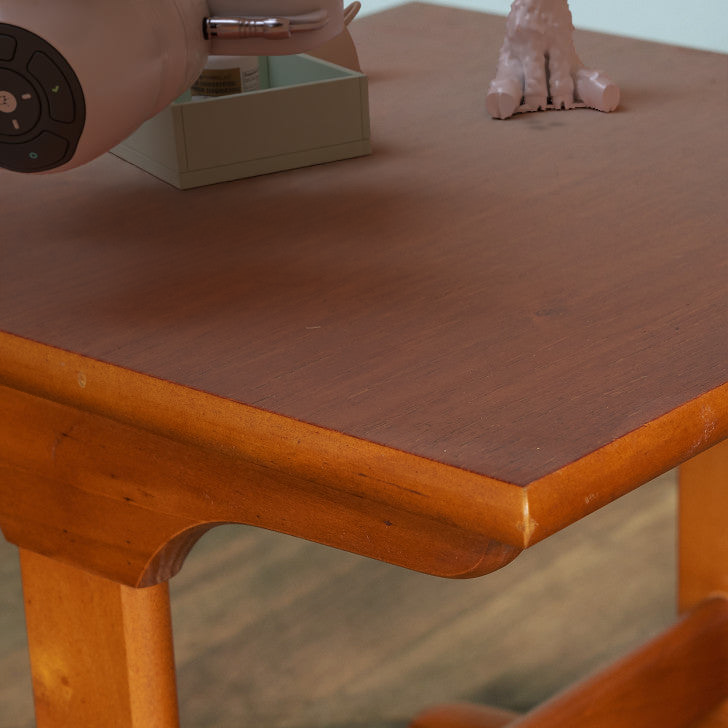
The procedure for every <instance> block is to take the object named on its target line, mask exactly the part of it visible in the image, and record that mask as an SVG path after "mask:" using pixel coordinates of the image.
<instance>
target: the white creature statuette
mask: <svg viewBox="0 0 728 728" xmlns="http://www.w3.org/2000/svg"><path fill="white" fill-rule="evenodd" d="M509 6H510V11H509V12H508V13H507V20H506V21H505V25H504V27H505V36H504V37H503V44H502V47H500V49H499V51H498V55H499V56H498V57H497V65H496V66H495V70H496V74H495V77H494V78H492V79H490V82H489V83H488V91H487V93H486V97H485V106H486V109H487V112H488V113H489V115H491V117H492V118H495V119H501V118H502V119H501V120H506V119H508V118H507V117H510V118H511V117H512V116H513V114H517V113H516V112H522V113H524V112H523V111H531V112H533V111H536V112H537V111H538V110H540V111H542V110H544V111H547V109H546V108H551V109H554V108H555V110H557V109H560V110H561V109H562V107H563V106H564V109H565V110H570V109H569V108H572V109H576V108H575V107H585V106H589V107H591V108H590V109H593V108H595V109H594V110H596V109H598V110H597V111H599V110H600V112H604V113H610V112H614V111H615V110H616V108H617V107H618V105H619V103H620V98H621V90H620V88H619V86H618V84H616V83H615V82H614V81H612V80H611V78H610V77H609V75H608V73H607V72H606V71H605V70H604V69H597V68H596V67H589V66H585V64H584V63H583V62H582V60H581V59H580V57H579V54H577V52H576V46H575V45H574V39H573V34H574V32H575V30H576V27H575V26H574V24H573V14H572V11H571V9H570V4H569V3H568V0H514V1H512V2H511V3H510V5H509ZM547 100H552V102H551V104H548V101H547ZM523 102H524V103H523ZM520 104H521V105H520ZM589 107H588V108H589ZM538 108H540V109H538ZM505 118H506V119H505Z"/></svg>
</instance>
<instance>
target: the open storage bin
mask: <svg viewBox="0 0 728 728" xmlns="http://www.w3.org/2000/svg"><path fill="white" fill-rule="evenodd" d="M258 66H259V78H260V90H258V91H251V92H245V93H239V94H233V95H226V96H220V97H214V98H208V99H201V100H195V101H192V100H191V91H190V88H189V89H188V90H187V91H186V92H185V93H184V94H182V95H181V96H180V97H179V98H177V99H176V100H175V101H173V102H172V103H171V104H170V105H168V106H167V107H166V108H165V109H164V110H162V111H161V112H160V113H158V114H157V115H156V116H154V117H153V118H151V119H149V120H147V121H145V122H144V123H143V124H142V125H141V126H140V127H139V128H138V129H137V130H136V131H135V132H134V133H133V134H132V135H131V136H130V137H128V138H127V139H126V140H124V141H123V142H121V143H120V144H118V145H117V146H115V147H114V148H113V149H111V150H110V151H108V152H109V153H111V154H113V155H114V156H116V157H119V158H120V159H122V160H124V161H126V162H128V163H130V164H131V165H133V166H136V167H137V168H139V169H141V170H143V171H145V172H147V173H148V174H151V175H152V176H154V177H156V178H158V179H159V180H162V181H163V182H166V183H168V184H169V185H171V186H173V187H175V188H177V189H179V190H188V189H193V188H199V187H205V186H209V185H214V184H215V185H216V184H219V183H226V182H230V181H236V180H240V179H246V178H251V177H256V176H262V175H268V174H273V173H279V172H283V171H289V170H293V169H294V170H295V169H299V168H304V167H305V168H306V167H310V166H316V165H322V164H326V163H332V162H337V161H341V160H347V159H353V158H359V157H363V156H368V155H372V140H371V138H372V135H371V133H372V132H371V117H370V104H369V103H370V99H369V78H368V79H367V77H368V75H367V74H365V73H364V74H362V73H359V72H356V71H353V70H350V69H347V68H345V67H342V66H339V65H336V64H333V63H330V62H327V61H324V60H321V59H319V58H316V57H313V56H310V55H307V54H304V53H301V54H294V55H284V56H258Z"/></svg>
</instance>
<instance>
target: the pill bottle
mask: <svg viewBox="0 0 728 728" xmlns="http://www.w3.org/2000/svg"><path fill="white" fill-rule="evenodd" d="M258 90H260V78H259V66H258V56H209V57H208V60H207V63H206V65H205V67H204V70H203V71H202V73H201V75H200V76H199V78H198V79H197V81H196V82H195V83H194V84H193V85H192V86H191V87H190V91H191V100H192V101H195V100H201V99H208V98H214V97H220V96H226V95H233V94H239V93H245V92H251V91H258Z"/></svg>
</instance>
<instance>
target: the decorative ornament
mask: <svg viewBox="0 0 728 728" xmlns="http://www.w3.org/2000/svg"><path fill="white" fill-rule="evenodd" d="M361 8H362V3H361V2H360V1H359V0H355V1H353V2H351V3H350V4H348V5H347V6H346V7H344V28H343V31H342V33H341V34H340V35H339V36H337V37H336V38H334V39H333V40H331V41H330V42H328V43H326V44H324V45H322V46H320V47H318V48H316V49H314V50H311V51H308V52H305V53H304V54H307V55H310V56H313V57H316V58H319V59H321V60H324V61H327V62H330V63H333V64H336V65H339V66H342V67H345V68H347V69H350V70H353V71H356V72H359V73H362V74H365V73H364V72H363V71H362V69H361V66H360V61H359V55H358V52H357V48H356V45H355V43H354V39H353V37H352V35H351V33H350V30H349V29H348V26H349V25H350V24H351V22H352V21H353V20H354V19H355V18H356V17H357V15H358V14H359V12H360V10H361Z"/></svg>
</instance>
